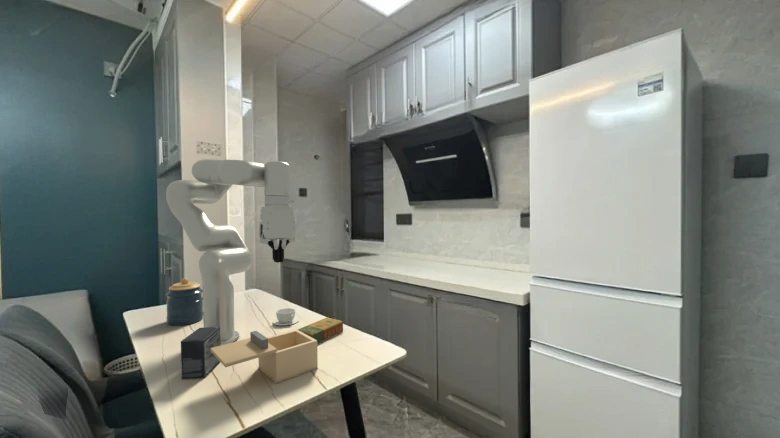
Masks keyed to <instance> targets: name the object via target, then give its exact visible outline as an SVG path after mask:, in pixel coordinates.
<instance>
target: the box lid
mask: <svg viewBox="0 0 780 438" xmlns="http://www.w3.org/2000/svg"><path fill="white" fill-rule="evenodd" d="M249 332H250V337H249V338H245V339H240V340H236V341H234V342H232V343H228V344H225V345H221V346H217V347H213V348H210V349H211V352H212V353H213V354H214V356H215V357H216V358H217V359H218V360H219V361H220V363H221V364H222V365H223V366H224V368H228V367H229V368H230V367H232V366H235V365H238V364H242V363H245V362H249V361H251V360H256V359H258V358H259V357H262V356H265V355H269V354H272V353H275V352H277V349H276V348H275V347H274V346H272V345H271V344H269V343H268V338H267V337H266V336H265V335H263V334H262V333H261V332H259V331H258V330H253V331H249Z"/></svg>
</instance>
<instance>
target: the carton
mask: <svg viewBox="0 0 780 438" xmlns="http://www.w3.org/2000/svg"><path fill="white" fill-rule="evenodd" d="M297 330H299V331H301V332H303V333H304V334H306V335H308V336H310V337H312V338H314V339H315V340H317V344H319V343H321V342H323V341H325V340H327V339H329V338H332V337H333V336H335V335H337V334H339V333H342V332H344V323H343V320H339V319H335V318H330V317H325V318H322V319H320V320H318V321H315V322H313V323H310V324H308V325H306V326H302V327H300V328H297Z"/></svg>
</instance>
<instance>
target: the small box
mask: <svg viewBox="0 0 780 438" xmlns="http://www.w3.org/2000/svg"><path fill="white" fill-rule="evenodd" d="M217 346H221V339H220V327H205V328H204V327H198V328H197V329H196V330H195V331H193V332H191V333H190V334H189V335H187V336H186V337H184V338H183V339H182V340H180V355H181V356H180V357H181V360H180V361H181V363H180V364H181V379H182V380H195V379H196V380H197V379H205V378H207V376H209V375H210V374H211V372H212V371H214V369H215V368H216V367H217V366H218V365H219V364H220V363H221V362H220V361H219V360H218V359H217V358H216V357H215V356H214V354H213V353H212V352H211V349H210V348H213V347H217Z"/></svg>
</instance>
